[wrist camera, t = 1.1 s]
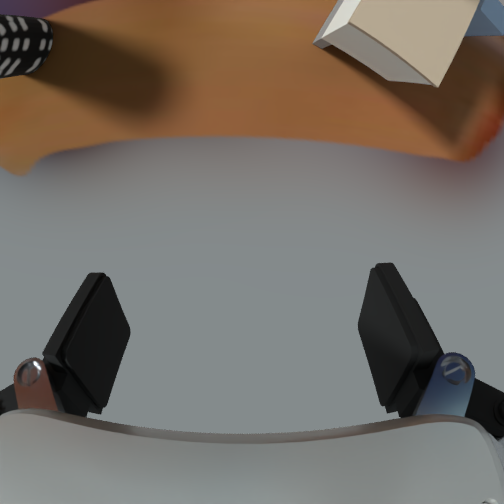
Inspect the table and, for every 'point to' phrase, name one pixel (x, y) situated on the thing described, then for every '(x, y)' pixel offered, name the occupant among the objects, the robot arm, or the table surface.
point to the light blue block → (487, 19)
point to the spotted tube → (23, 44)
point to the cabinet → (400, 35)
